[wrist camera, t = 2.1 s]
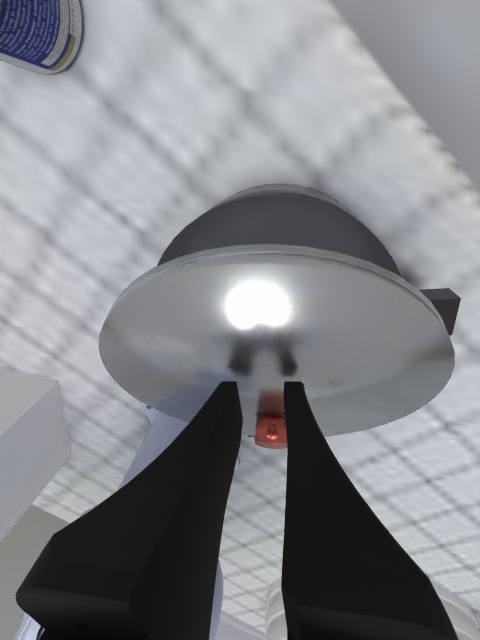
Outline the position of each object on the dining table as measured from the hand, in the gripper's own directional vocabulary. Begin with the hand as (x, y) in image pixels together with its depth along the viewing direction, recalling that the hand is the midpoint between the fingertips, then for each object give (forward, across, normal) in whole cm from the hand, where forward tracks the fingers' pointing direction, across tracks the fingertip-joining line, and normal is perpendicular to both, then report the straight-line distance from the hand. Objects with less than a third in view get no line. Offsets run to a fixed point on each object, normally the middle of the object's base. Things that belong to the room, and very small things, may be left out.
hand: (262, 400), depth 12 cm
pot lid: (+2, 0, 0) cm, 2 cm away
